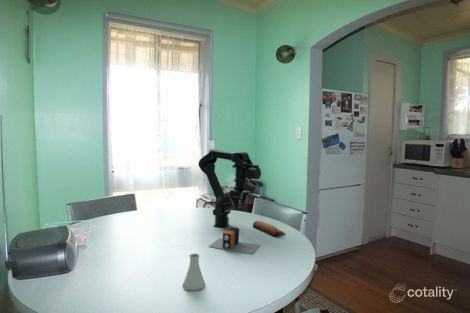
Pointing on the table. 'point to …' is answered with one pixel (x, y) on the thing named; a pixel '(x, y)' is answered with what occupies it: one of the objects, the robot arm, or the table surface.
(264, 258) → the table surface
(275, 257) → the table surface
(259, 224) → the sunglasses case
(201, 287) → the flask
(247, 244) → the rubber mat
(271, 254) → the table surface
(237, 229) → the battery
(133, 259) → the table surface
